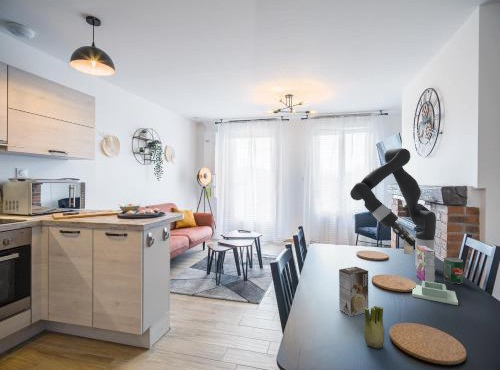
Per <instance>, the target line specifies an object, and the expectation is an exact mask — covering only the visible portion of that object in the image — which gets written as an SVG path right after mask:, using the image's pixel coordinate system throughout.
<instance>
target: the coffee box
mask: <svg viewBox="0 0 500 370" xmlns="http://www.w3.org/2000/svg"><path fill="white" fill-rule="evenodd" d="M338 283H339V284H338V286H339V287H338V289H339V290H338V297H339V298H338V300H339V302H338V305H339V309H340V311H341V312H342V311H343V313H344V312H345V314H346V315H347V314H348V316H349V315H350V316H349V317H353V316H352V315H355V316H358V315H361V314H365V308H368V309H369V270H367V269H364V268H361V267H357V266H351V267H347V268H339V269H338Z"/></svg>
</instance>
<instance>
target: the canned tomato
mask: <svg viewBox="0 0 500 370" xmlns="http://www.w3.org/2000/svg"><path fill="white" fill-rule="evenodd" d="M443 281H444V282H446V281H447V282H446V283H449V282H450V283H449V284H454V283H457V285H459V284H460V285H462V284H463V283H464V260H463V259H460V258H458V257H452V256H451V257H449V256H446V257H445V256H444V257H443ZM461 283H462V284H461Z"/></svg>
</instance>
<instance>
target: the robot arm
mask: <svg viewBox="0 0 500 370" xmlns="http://www.w3.org/2000/svg"><path fill="white" fill-rule="evenodd" d="M410 159H411V152H410V151H409V150H408V149H407V148H403V147H402V148H391V149H387V150H386V151H385V154H384V161H385V164H382V165H380V166H379V167H376V168H375V169H372V171H370V172H369V173H368V174H367V175H365V177H364V178H363V179H362V180H361V181H360V182H357V183H355V185H353V187H352V189H351V190H350V197H351V199H352V200H353V201H362V200H363V202H364V207H365V209H367V211H368V212H369V213H370V214H372V215H373V217H374V218H375V219H376V220H377V221H378V222H379V223H380V225H382V226H383V227H384V228H385V229H388V228H389V227H391V231H392V232H393V233H395V234H396V235H397V236H398V237H399V238H400V239H401V240H403V241H404V240H405V241H406V242H407V243H408V244H409V245H410V246H413V247H414V245H415V247H414V248H415V249H414V257H415V259H414V261H415V262H414V263H415V264H414V266H415V268H416V246H426V247H428V248H430V249H432V250H433V251H435V236H436V229H437V227H436V226H437V215H436V214H435V212H433V211H431V210H430V211H429V210H421V209H420V207H419V204H418V203H419V200H420V198H421V194H422V190H421V188H420V185H419V183H418V181H417V180H416V179H415V178H414V177H413V176H412V175H411V174H409V172H407V170H406V169H404V168H403V167H404V166H406V165H407V164H408V163H409V162H410V161H411V160H410ZM390 175H393V177H394V180H395V181H396V184H397V185H398V187H399V191H400V193H401V195H402V196H403V198H404V201H405V204H406V206H407V208H408V212H409V215H410V218H411V221H412V223H413V224H414V225H415V226H417V227H422V228H423V231H418V232H416V233H415V238H413V240H412V239H411V238H410V237H409V236H408V235H411V234H410V233H409V231H407V229H406V228H405V227H404V226H403V225H402V224H401V223H398V222H397V220H398V219H399V217H398V216H397V215H396V213H394V212H393V211H392V210H391V209H390V208H388V206H387V205H385V204H384V203H382V201H380V200H379V199H378V198H377V197H376V195H375V194H374V192H373V189H374V188H375V187H377V186H378V185H379V184H380V183H381V182H383V180H385V179H386V178H387V177H388V176H390Z"/></svg>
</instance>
